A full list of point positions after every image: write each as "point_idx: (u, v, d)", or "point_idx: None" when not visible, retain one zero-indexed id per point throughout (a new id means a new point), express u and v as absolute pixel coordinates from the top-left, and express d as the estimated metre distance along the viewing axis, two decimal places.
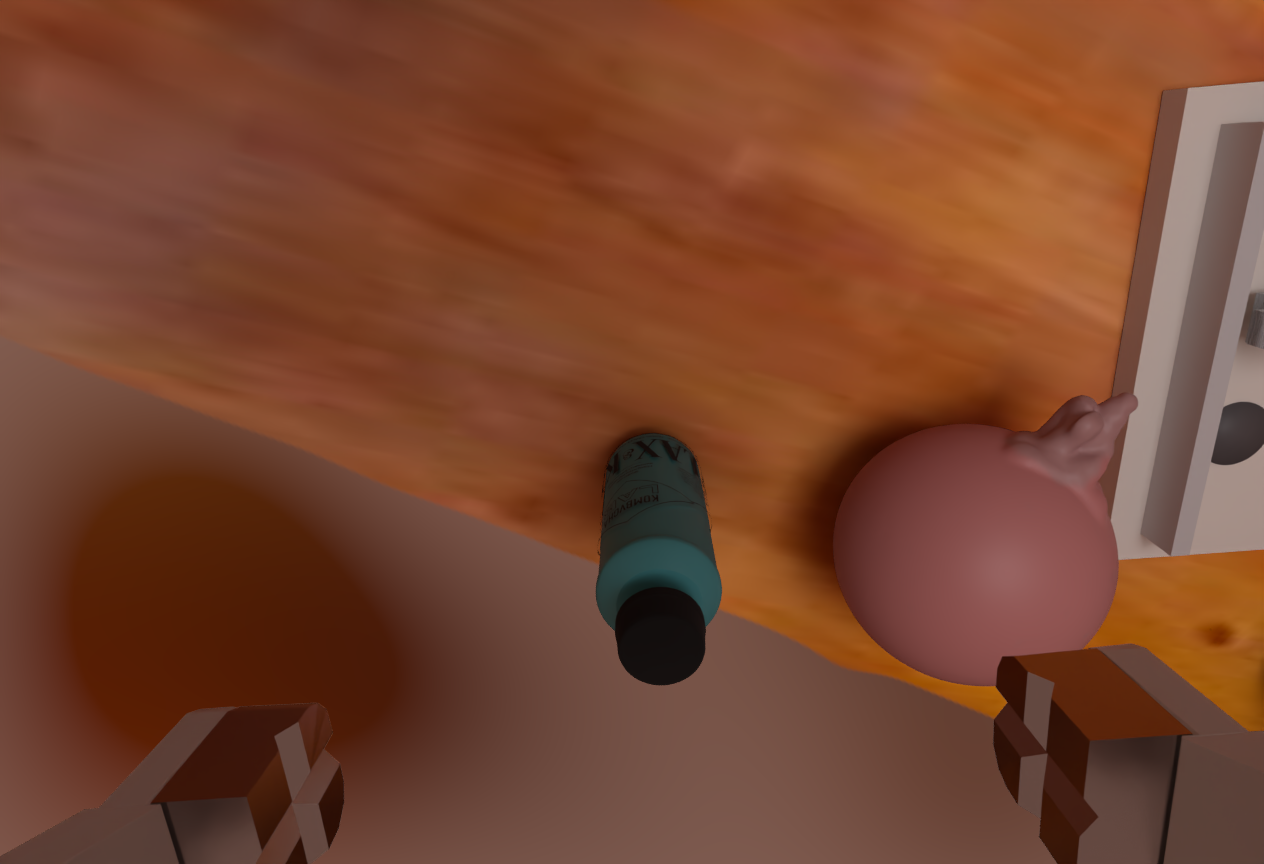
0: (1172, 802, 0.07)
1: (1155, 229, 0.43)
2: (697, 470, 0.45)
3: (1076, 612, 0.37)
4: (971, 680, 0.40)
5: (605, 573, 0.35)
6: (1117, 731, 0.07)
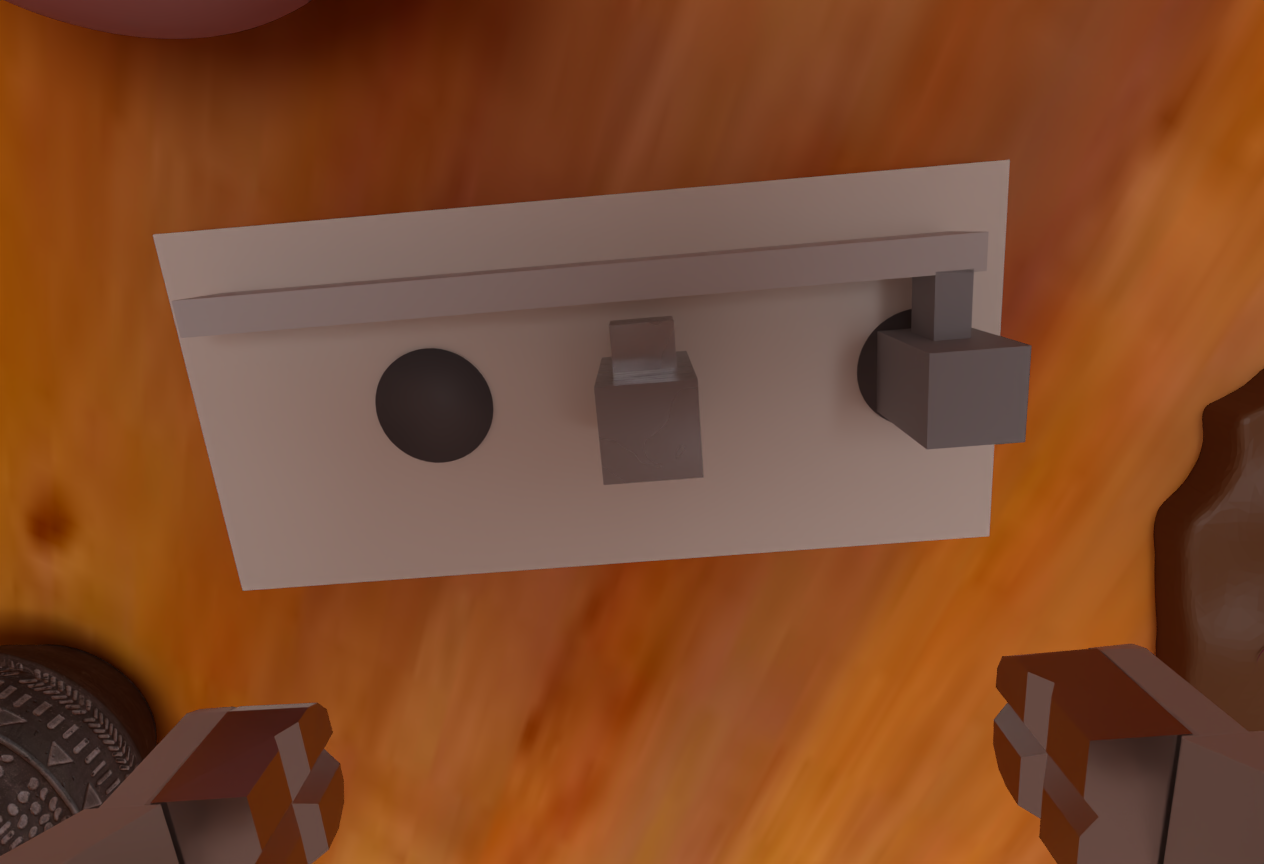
0: (1172, 802, 0.07)
1: None
2: None
3: None
4: None
5: None
6: (1117, 731, 0.07)
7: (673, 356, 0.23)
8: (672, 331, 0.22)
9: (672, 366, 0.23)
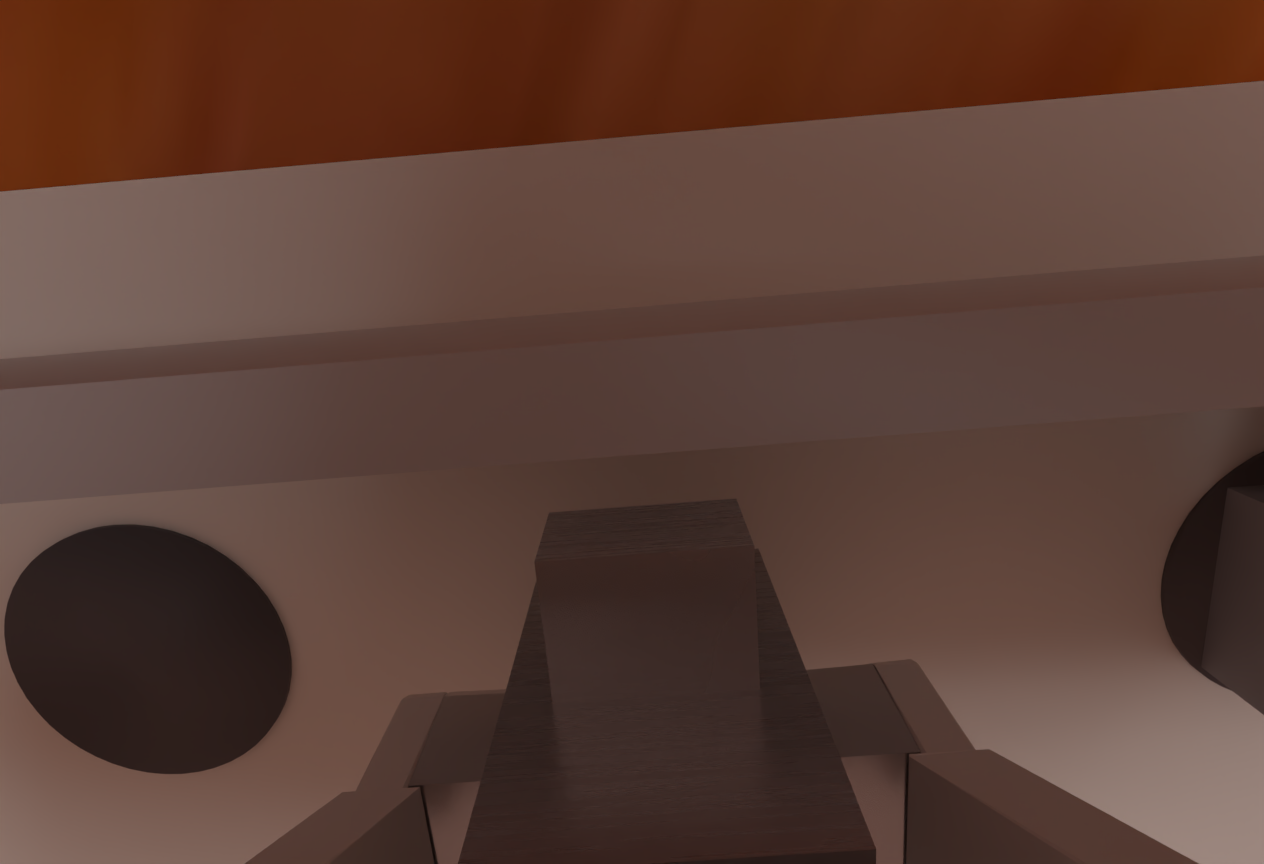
0: (907, 818, 0.07)
1: None
2: None
3: None
4: None
5: None
6: (852, 749, 0.07)
7: (751, 654, 0.07)
8: (749, 580, 0.07)
9: (745, 684, 0.07)
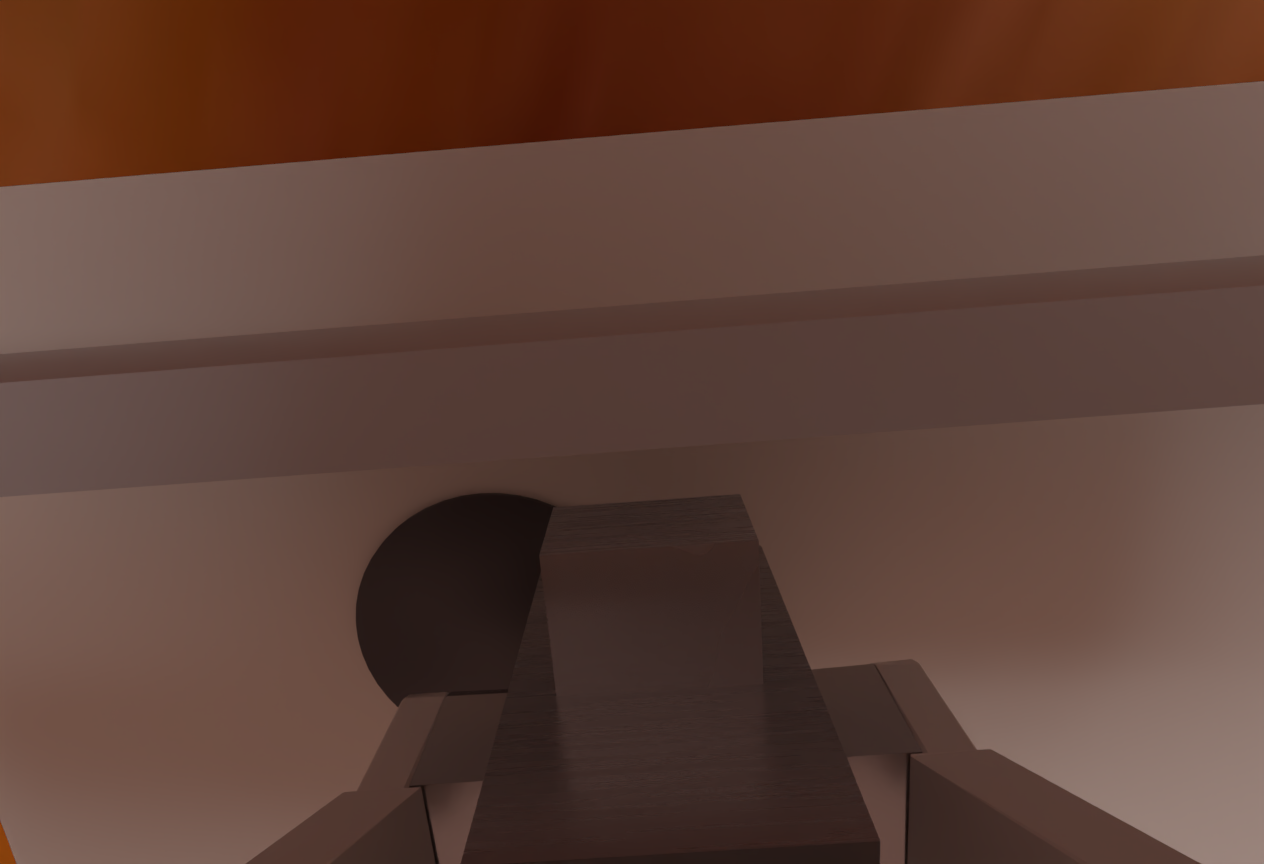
0: (909, 818, 0.07)
1: None
2: None
3: None
4: None
5: None
6: (854, 749, 0.07)
7: (754, 648, 0.07)
8: (753, 574, 0.07)
9: (748, 678, 0.07)
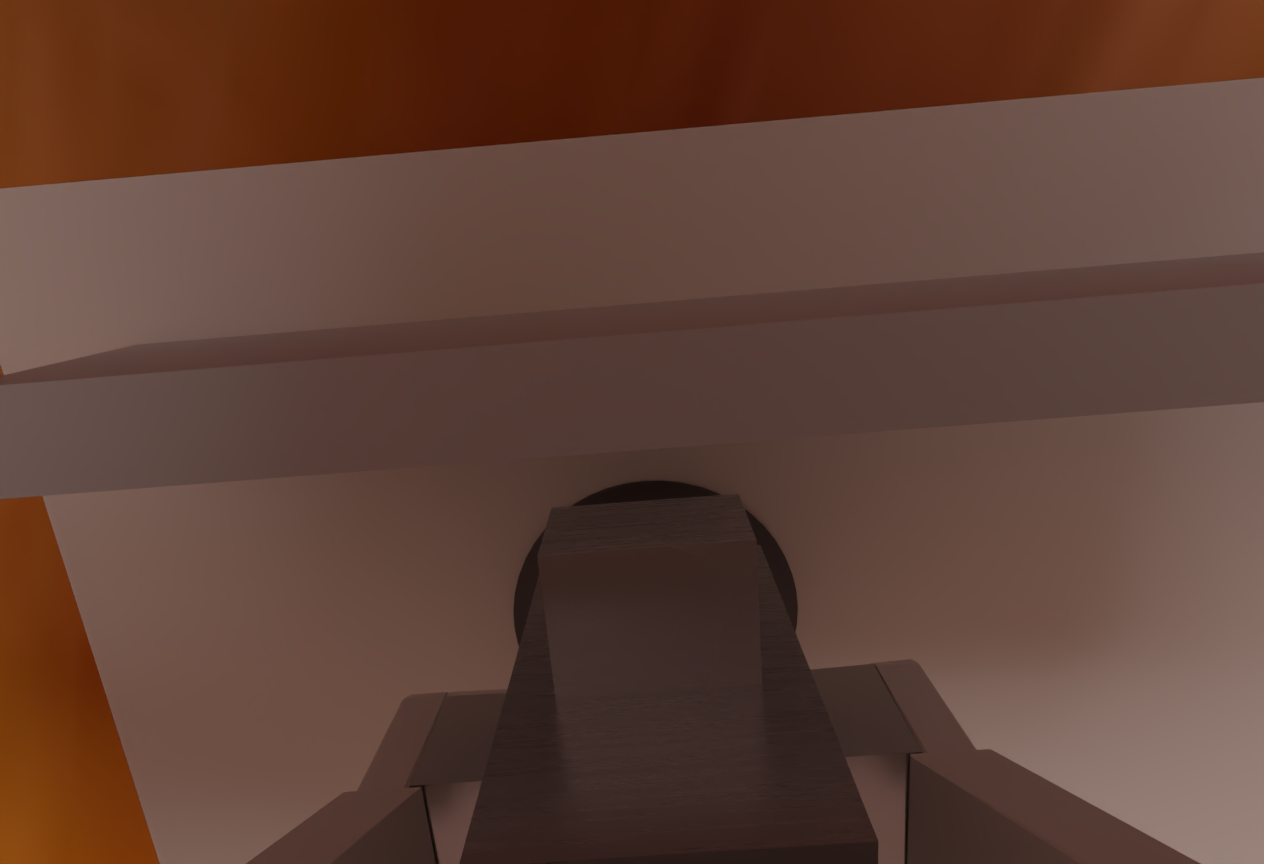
0: (909, 818, 0.07)
1: None
2: None
3: None
4: None
5: None
6: (854, 749, 0.07)
7: (753, 648, 0.07)
8: (751, 574, 0.07)
9: (747, 679, 0.07)
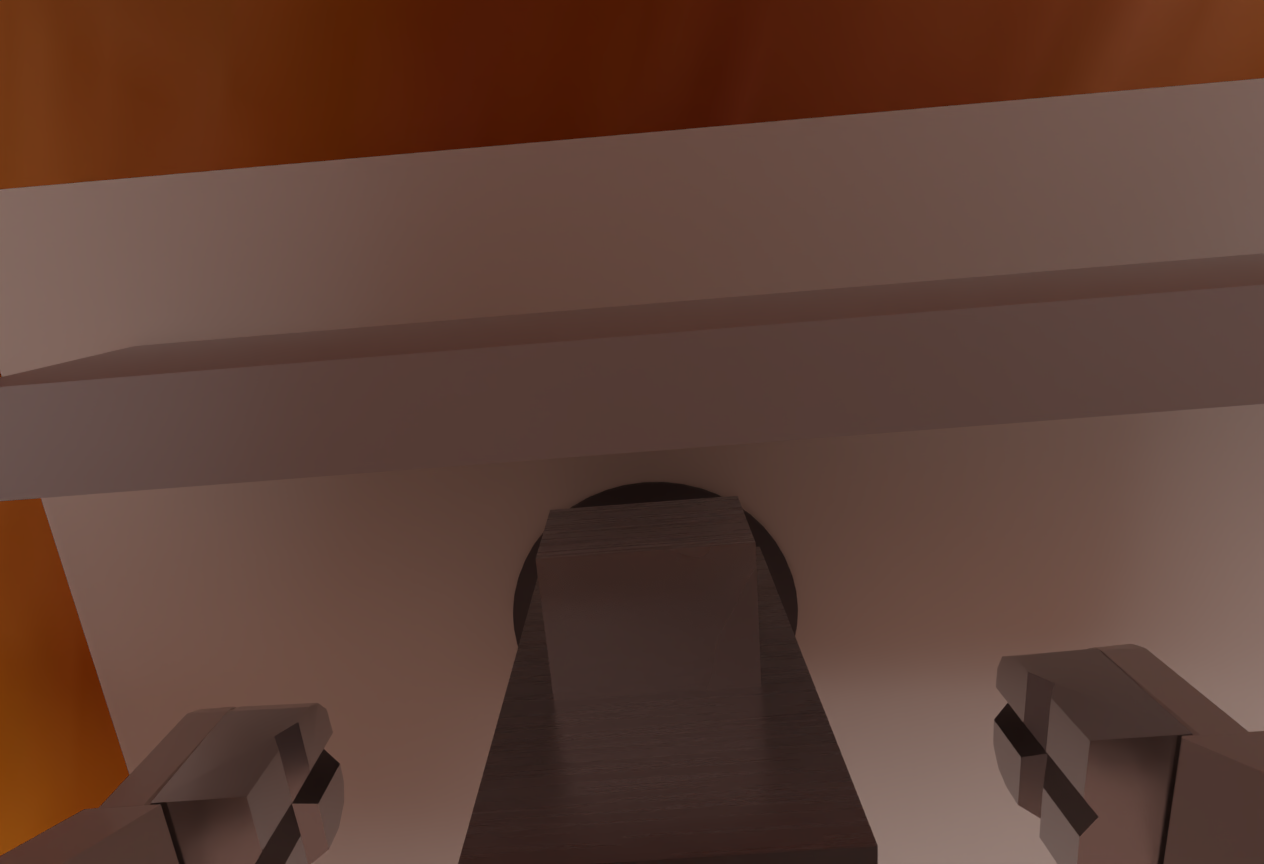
0: (1172, 802, 0.07)
1: None
2: None
3: None
4: None
5: None
6: (1117, 731, 0.07)
7: (751, 651, 0.07)
8: (750, 577, 0.07)
9: (747, 682, 0.07)
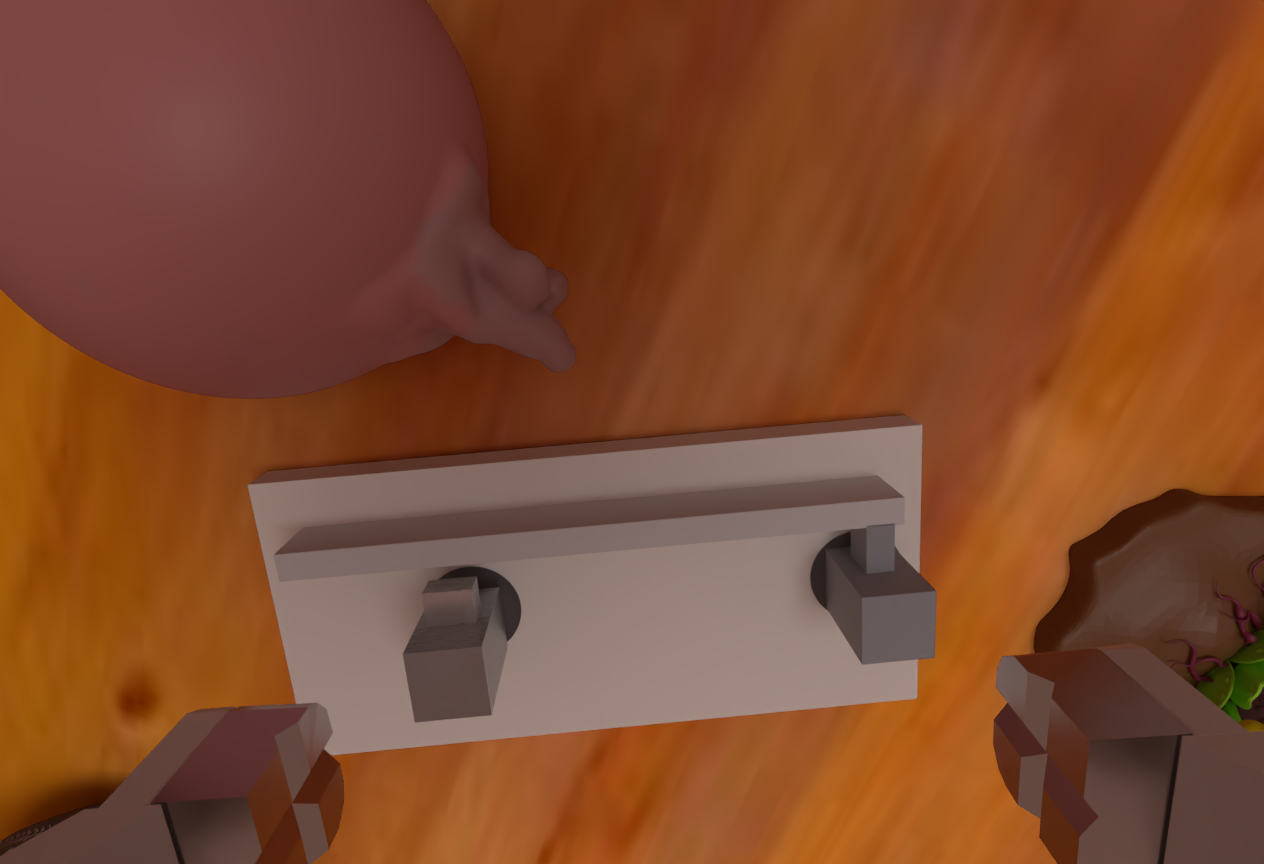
0: (1171, 800, 0.07)
1: (751, 436, 0.33)
2: None
3: (142, 231, 0.17)
4: None
5: None
6: (1117, 731, 0.07)
7: (473, 614, 0.29)
8: (471, 597, 0.29)
9: (473, 621, 0.29)
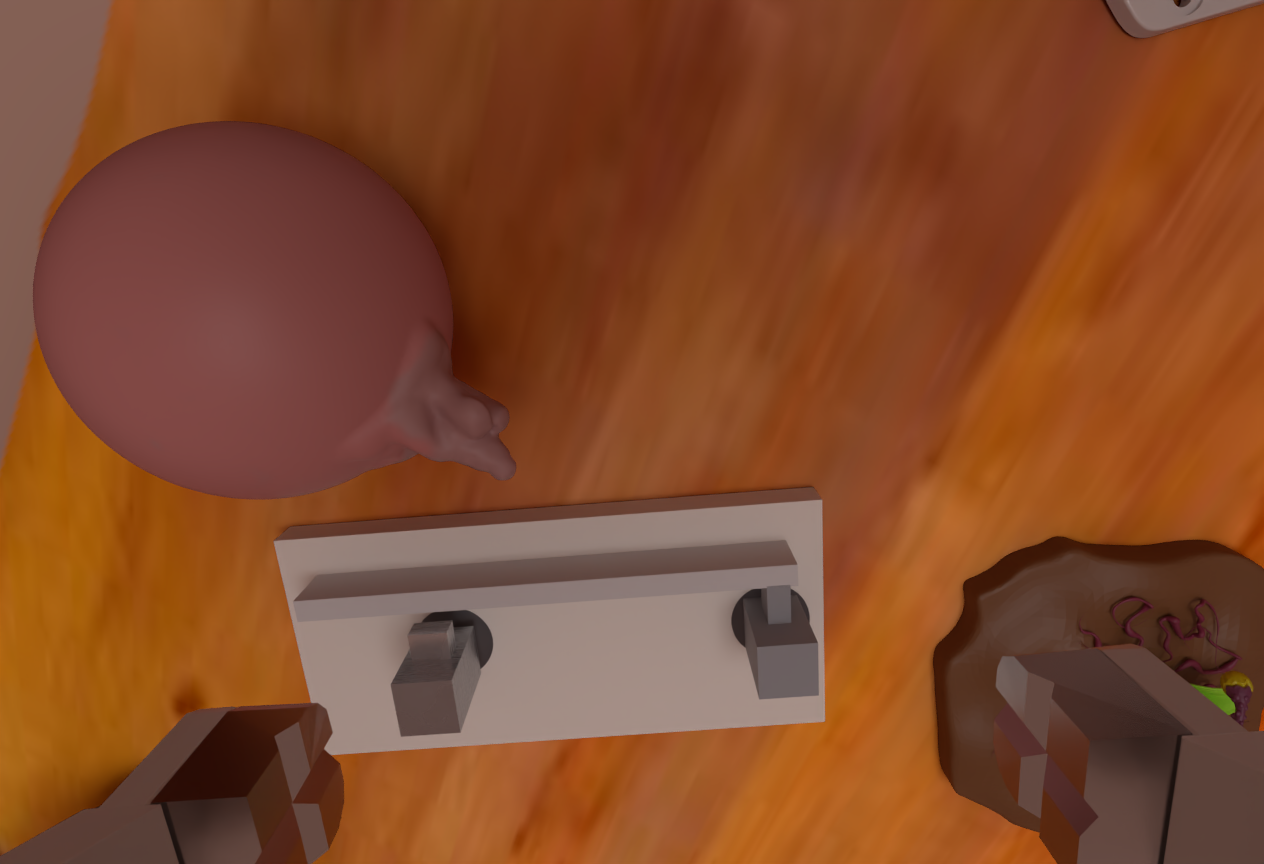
0: (1171, 801, 0.07)
1: (680, 506, 0.40)
2: None
3: (193, 414, 0.25)
4: (40, 295, 0.25)
5: None
6: (1117, 731, 0.07)
7: (448, 651, 0.37)
8: (446, 638, 0.37)
9: (448, 657, 0.37)
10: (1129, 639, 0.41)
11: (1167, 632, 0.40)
